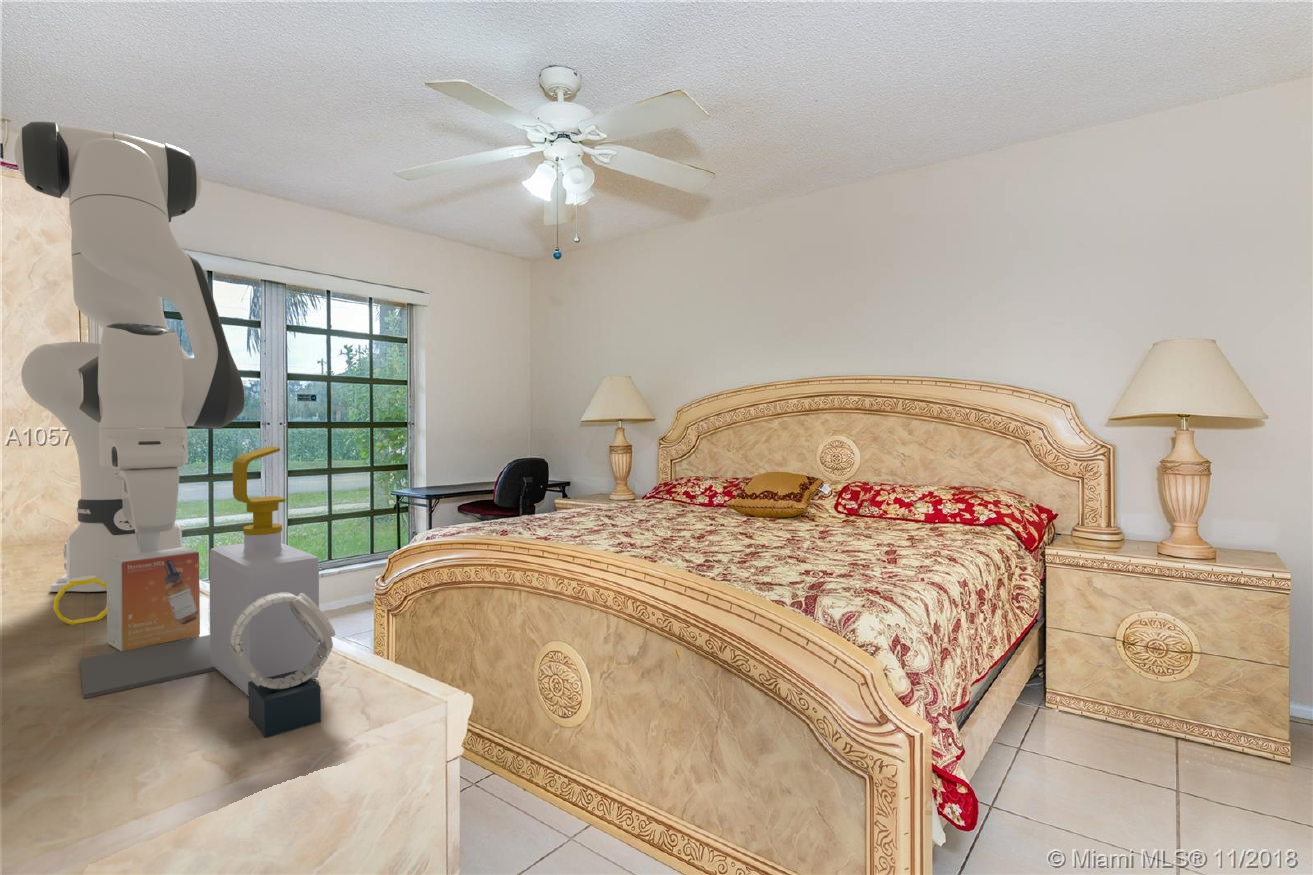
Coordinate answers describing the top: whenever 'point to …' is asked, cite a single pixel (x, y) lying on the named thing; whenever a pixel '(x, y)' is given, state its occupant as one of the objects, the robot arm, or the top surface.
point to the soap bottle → (260, 590)
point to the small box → (152, 598)
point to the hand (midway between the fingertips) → (148, 560)
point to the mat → (145, 666)
